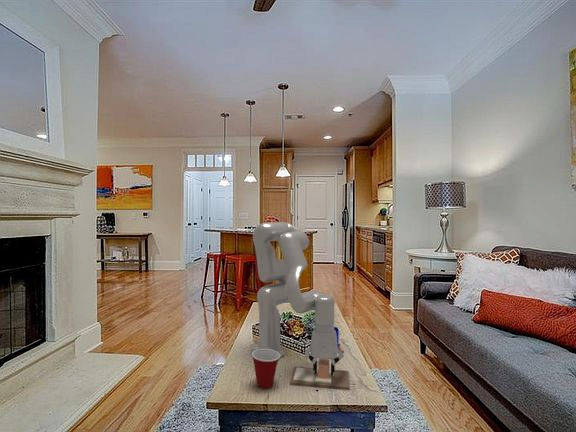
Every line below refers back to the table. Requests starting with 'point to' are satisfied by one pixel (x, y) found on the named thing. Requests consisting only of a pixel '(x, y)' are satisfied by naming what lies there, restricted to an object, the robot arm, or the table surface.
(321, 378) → the stub
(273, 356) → the plastic cup
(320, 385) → the board
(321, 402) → the table surface
